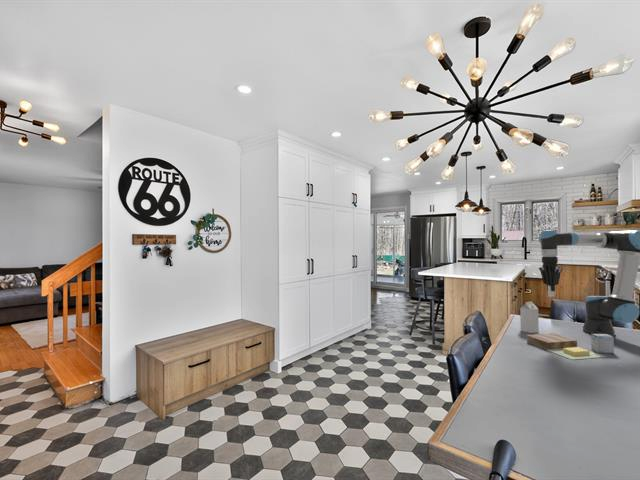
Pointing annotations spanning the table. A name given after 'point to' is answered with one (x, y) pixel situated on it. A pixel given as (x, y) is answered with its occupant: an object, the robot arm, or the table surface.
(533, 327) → the milk carton
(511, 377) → the table surface
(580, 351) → the yellow sponge block
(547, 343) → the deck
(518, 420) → the table surface
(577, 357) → the mat
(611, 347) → the medicine box
